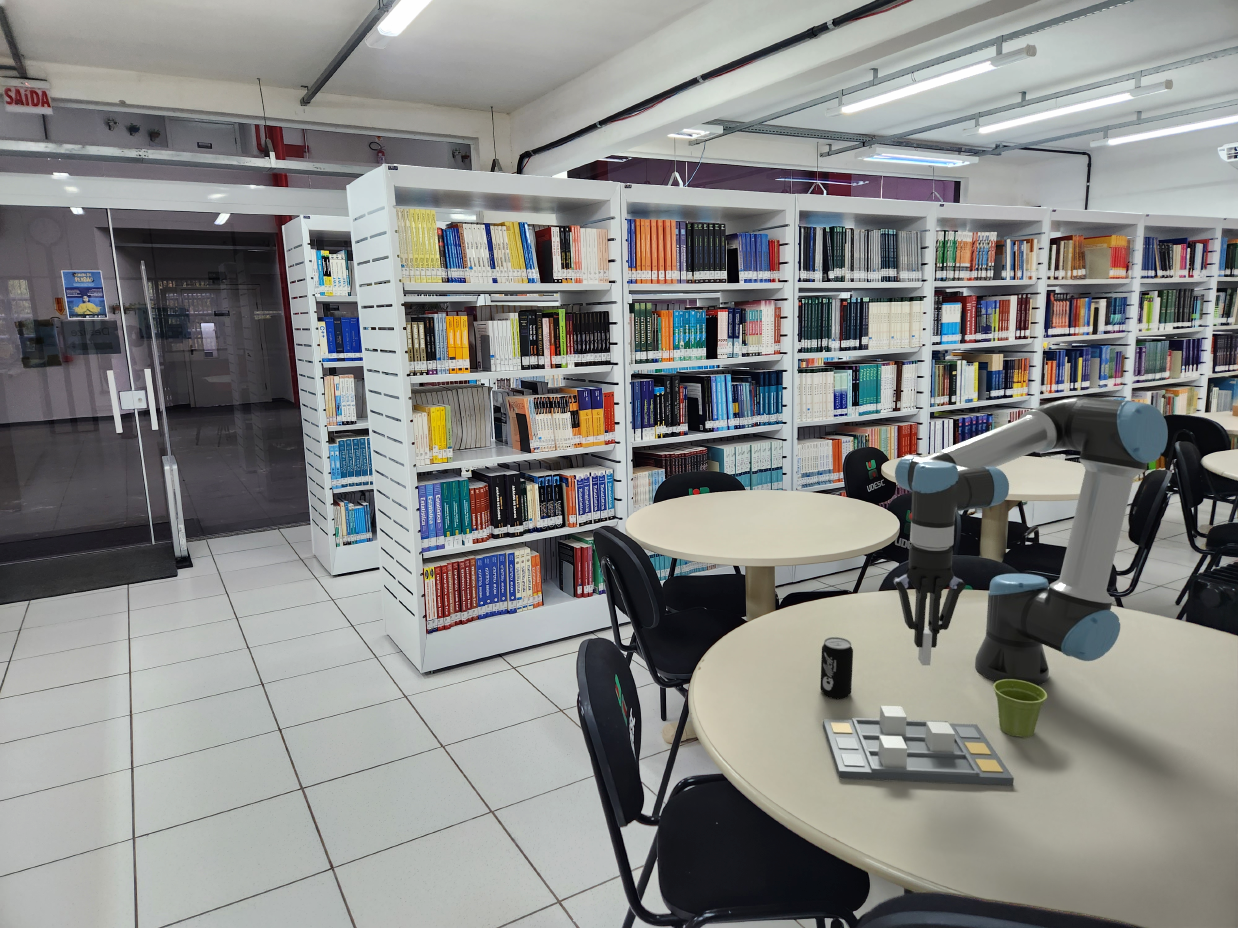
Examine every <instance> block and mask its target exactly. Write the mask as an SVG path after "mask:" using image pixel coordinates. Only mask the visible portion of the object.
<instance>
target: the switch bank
mask: <svg viewBox="0 0 1238 928" xmlns="http://www.w3.org/2000/svg"><path fill="white" fill-rule="evenodd" d="M926 722H948V723H949V725H950V726H951V728H952V730H953V731H954V733H955V741H954V752H934V751H930V749H929V747H928V745H927V744H926V742H925V733H926ZM822 727H823V731H824V733H825V737H826V741H827V743H828V747H829V750H830V753H831V756H832V760H833V763H834V765H835V769H836V774H837V775H838V779H844V780H845V779H847V780H848V779H849V780H871V781H873V780H874V781H892V782H894V781H895V782H897V781H898V782H918V783H919V782H920V783H937V784H938V783H941V784H942V783H943V784H945V783H946V784H963V785H964V784H965V785H966V784H967V785H968V784H969V785H987V786H988V785H991V786H1011V787H1012V786H1014V780H1015V778H1014V776H1013V775H1012V774H1011V772H1010V770H1009V769H1008V767H1007V766H1006V765H1005V763H1004V762H1003V760H1002V759H1001V757H1000V755H999V754H998V753H997V751H996V750H995V749H994V747H993V746H992V744H991V743H990V741H989V739H988V738H987V737H986V735H985V734H984V733H983V731H982V729H981V728H980V727H979V726H978V724H977V723H976V724H973V723H972V724H971V723H969V724H968V723H950V722H949V721H948V720H922V719H907V720H906V735H896V734H884V733H883V731H882V729H881V726H880V718H870V717H869V718H866V717H864V718H863V717H852V718H851V719H834V718H832V719H826V718H824V719H823V720H822ZM879 736H902V738H903V740H904V742H905V744H906V746H907V764H906V768H895V767H883V765H882V763H881V761H880V758H879V756H878V750H879Z"/></svg>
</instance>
